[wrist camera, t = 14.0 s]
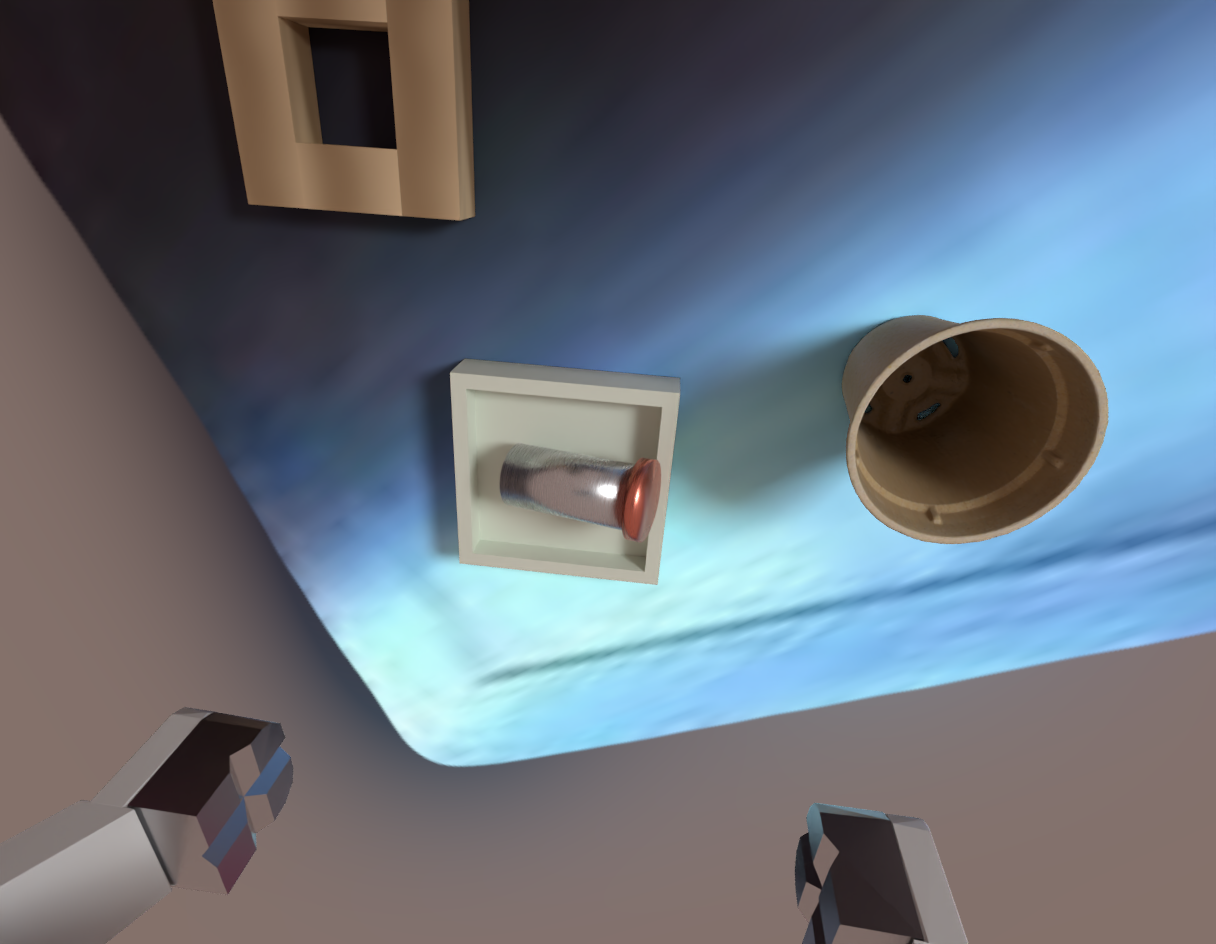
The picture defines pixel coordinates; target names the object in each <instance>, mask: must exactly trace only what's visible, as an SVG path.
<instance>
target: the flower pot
mask: <svg viewBox="0 0 1216 944" xmlns="http://www.w3.org/2000/svg"><path fill="white" fill-rule="evenodd" d="M950 337H951V338H953V340H954V341H955V343H956V344H957V346H958V355H957V356H956V357H953V355H952V354H951V352H950V350H949V349H948V348H947V346H946V345H945V343H944V342H943V341H942V340H944V339H947V338H950ZM906 375H911V376H912V378H911V381H910V382H908V383H906V382H904V381H903V378H904V377H905V376H906ZM842 393H843V397H844V400H845V403H846V407H847V411H848V415H849V419H850V425H849V428H848V433H847V440H846V460H847V467H848V472H849V476H850V480H851V482H852V485H853V487H854V489H855V492H856V494H857V495H858V497H859V498H860V500H861V502H862V503H863V505H864V506H865V507H866V508H867V510H869V511H870V513H871V514H872V515H874V516H875V518H876V519H878V520H879V521H881V522H882V523H883V524H885V525H886V526H887V527H889V528H891V529H893V530H895V531H897V532H900V533H902V534H904V535H906V536H909V537H912V538H914V539H919V540H921V541H925V542H932V543H933V542H934V543H940V544H962V543H970V542H980V541H984V540H988V539H991V538H994V537H998V536H1000V535H1005V534H1008V533H1010V532H1012V531H1014V530H1017V529H1019V528H1021V527H1024V526H1026V525H1028V524H1029V523H1031V522H1033V521H1034V520H1036V519H1038V518H1040V517H1041V516H1043V515H1044V514H1046V513H1047V512H1049V511H1050V510H1051V509H1053V508H1054V507H1056V506H1057V505H1058V504H1059V503H1060V502H1062V501H1063V500H1064V499H1065V498H1066V497H1067V496H1068V495H1069V494H1070V493H1071V492H1072V491H1073V490H1074V489H1075V488H1076V487H1077V486H1078V485H1079V484H1080V482H1081V480H1082V479H1083V477H1084V476H1085V475H1086V474H1087V473H1088V471H1089V469H1090V468H1091V466H1092V465H1093V464H1094V462H1095V460H1096V457H1097V456H1098V453H1099V451H1100V448H1101V446H1102V443H1103V440H1104V436H1105V431H1106V428H1107V425H1108V399H1107V393H1106V388H1105V386H1104V383H1103V381H1102V378H1101V376H1100V373H1099V371H1098V369H1097V368H1096V367H1095V365H1094V363H1093V362H1092V361H1091V359H1090V358H1089V356H1088V355H1087V354H1086V353H1085V352H1084V351H1083V350H1082V349H1081V348H1080V347H1079V346H1078V345H1077V344H1075V343H1074V342H1073V341H1071V340H1070V339H1069V338H1068V337H1066V336H1064V335H1063V334H1061V333H1059V332H1057V331H1055V330H1052V329H1050V328H1048V327H1045V326H1043V325H1040V324H1037V323H1034V322H1029V321H1024V320H1019V319H1008V318H993V319H982V320H974V321H969V322H964V323H961V324H959V323H954V322H950V321H946V320H942V319H939V318H936V317H932V316H925V315H914V316H904V317H900V318H896V319H893V320H890V321H888V322H886V323H884V324H882V325H880V326H878V327H876V328H875V329H873V330H872V331H871V332H869V333H868V334H867V335H866V336H865V337H864V338H862V339H861V341H860V342H859V343H858V344H857V345H856V346H855V348H854V349H853V350H852V352H851V354H850V356H849V358H848V361H847V364H846V367H845V370H844V373H843V378H842ZM936 403H939V404H940V406H939V407H937V408H936V410H935V411H934V412H933V413H931V414H930V415H928V416H927V417H925V418H923V419H921V420H918V419H917V415H918V413H920V412H922V411H924V410H927V409H928V408H930V407H931V406H932V405H934V404H936ZM868 404H869V405H870V406H871V407H872V410H871V411H870V412H869V413H865V410H866V408H867V406H868Z"/></svg>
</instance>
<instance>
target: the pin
mask: <svg viewBox="0 0 1216 944" xmlns="http://www.w3.org/2000/svg"><path fill="white" fill-rule="evenodd" d="M660 488H661V467H660V463H659V461H658V460H654V459H648V458H640V459H639V460H638V461H637V462H636V464H631V463H626V462H620V461H615V460H609V459H604V458H598V457H593V456H588V455H582V454H577V453H571V452H566V451H560V450H555V449H550V448H544V447H539V446H533V445H528V444H522V443H518V444H516V445H514V446H513V447H512V448H511V449H510V450H509V452H508V454H507V455H506V458H505V460H504V462H503V466H502V469H501V474H500V495H501V498H502V500H503V502H504V503H505V504H506V505H509V506H513V507H518V508H522V509H527V510H532V511H536V512H541V513H545V514H550V515H554V516H559V517H563V518H568V519H573V520H577V521H582V522H586V523H591V524H595V525H600V526H604V527H609V528H613V529H618V530H622V533H623V536H624V538H625V539H627V540H631V541H635V542H640V543H641V542H643V541H644V540H645V539H646V538H647V536H648V534H649V532H650V530H651V527H652V524H653V521H654V518H655V515H656V511H657V507H658V502H659V496H660Z"/></svg>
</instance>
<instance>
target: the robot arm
mask: <svg viewBox="0 0 1216 944" xmlns="http://www.w3.org/2000/svg"><path fill="white" fill-rule="evenodd" d="M284 739H285V735H284V732H283V729H282V726H281V724H280V723H276V722H270V721H264V720H259V719H253V718H247V717H241V716H235V715H229V714H223V713H218V712H213V711H207V710H199V709H193V708H187V707H184V708H182V709H180V710H179V711H177V712H175V713H173V714H172V715H171V716H170V717H169V718H168V719H167V720H166V721H165V722H164V723H163V724H162V725H161V726H160V727H159V728H158V730H157V731H156V732H155V733H154V734H153V735H152V736H151V737H150V738H149V739H148V740H147V741H146V743H144V745H143V746H142V747H141V748H140V749H139V750H138V751H137V752H136V753H135V754H134V755H133V756H132V757H131V758H130V759H129V761H128V762H127V763H126V764H125V765H124V766H123V767H122V768H121V769H120V770H119V771H118V772H117V773H116V775H115V776H114V777H113V778H112V779H111V780H110V781H109V782H108V783H107V784H106V785H105V786H104V787H103V788H102V790H101V791H100V792H99V793H98V794H97V795H96V796H95V797H94V798H93V799H92V800H91V801H86V800H80V801H79V802H76V803H75V804H73V805H71V806H69V807H67V808H65V809H63V810H62V811H60V812H58V813H56V814H54V815H52V816H51V817H49V818H47V819H45V820H43V821H42V822H39V823H38V824H36V825H34V826H32V827H30V828H28V829H26V830H25V831H23V832H21V833H19V834H17V835H16V836H14V837H12V838H10V839H8V840H6V841H4V842H2V843H1V844H0V944H106V943H107V942H108V941H109V940H111V939H112V938H113V937H114V936H116V935H117V934H118V933H119V932H121V931H122V930H123V929H124V928H126V927H127V926H128V925H130V924H131V923H132V922H133V921H135V920H136V919H137V918H138V917H140V916H141V915H142V914H143V913H145V912H146V911H147V910H148V909H150V908H151V907H152V906H153V905H155V904H156V903H157V902H159V901H160V900H161V899H162V898H163V897H165V896H166V895H167V894H169V893H170V892H171V891H172V888H171V887H177V888H184V889H191V890H197V891H205V892H212V893H218V894H225V895H228V894H229V892H230V891H231V889H232V887H233V886H234V884H235V883H236V881H237V880H238V878H239V876H240V875H241V873H242V872H243V870H244V868H245V867H246V865H247V864H248V862H249V860H250V859H251V857H252V856H253V854H254V853H255V851H256V833H257V832H259V831H260V830H262V829H263V828H265V827H266V826H267V825H269V824H270V823H272V822H274V821H275V819H276V817H277V816H278V814H279V813H280V811H281V809H282V808H283V806H284V804H285V803H286V800H287V797H288V794H289V791H290V788H291V785H292V783H293V765H292V761H291V757H290V756H289V755H288V754H287V753H286V752H285V751H284V750H283V749H281V747H280V745H281V743H282V742H283V740H284ZM806 819H807V825H808V833H806V834H804V835H803V836H801V837H800V840H799V843H798V847H797V851H796V861H795V888H796V897H797V906H798V909H799V910H800V912H801V913H802V915H803V916H804V918H805V919H806V920H807V922H808V923H809V925H808V928H807V931H806V933H805V936H804V939H803V942H802V944H969V943H968V941H967V938H966V935H965V932H964V929H963V926H962V923H961V920H960V917H959V914H958V911H957V908H956V905H955V902H954V899H953V896H952V893H951V890H950V887H949V885H948V882H947V879H946V876H945V873H944V870H943V867H942V864H941V861H940V858H939V855H938V852H937V849H936V846H935V844H934V840H933V838H932V834H931V831H930V829H929V827H928V826H927V824H926V823H925V822H924V820H922V819H919V818H914V817H906V816H899V815H891V814H884V813H883V812H878V811H871V810H864V809H857V808H849V807H842V806H834V805H827V804H819V803H814V804H813V805H811V806H810V809H809V812H808V814H807V817H806Z"/></svg>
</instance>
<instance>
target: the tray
mask: <svg viewBox="0 0 1216 944" xmlns="http://www.w3.org/2000/svg"><path fill="white" fill-rule="evenodd" d="M450 383H451V403H452V423H453V442H454V462H455V482H456V501H457V521H458V541H459V560H460V563H462V564H471V565H480V566H489V567H499V568H508V569H517V570H526V571H535V572H545V573H554V574H563V575H572V576H581V577H590V578H600V579H609V580H618V581H627V582H636V583H645V584H655V585H657V584H658V576H659V567H660V559H661V551H662V542H663V534H664V525H665V517H666V509H667V500H668V492H669V483H670V475H671V467H672V458H673V450H674V442H675V433H676V425H677V416H678V408H679V400H680V378H676V377H665V376H654V375H643V374H631V373H620V372H609V371H598V370H587V369H576V368H565V367H553V366H542V365H531V364H520V363H509V362H498V361H486V360H475V359H464V360H463V361H462V362H461V363H459V364H458V365H457V366H456V367H455V368H454V369H453V370H452V371H451V372H450ZM518 443H522V444H528V445H533V446H539V447H544V448H550V449H555V450H560V451H566V452H571V453H577V454H582V455H588V456H593V457H598V458H604V459H609V460H615V461H620V462H626V463H631V464H636V462H637V461H638V460H639V459H640V458H648V459H654V460H658V461H659V463H660V467H661V488H660V496H659V502H658V507H657V511H656V515H655V518H654V521H653V524H652V527H651V530H650V532H649V534H648V536H647V538H646V539H645V540H644V541H643V542H641V543H640V542H635V541H631V540H627V539H625V538H624V536H623V533H622V530H618V529H613V528H609V527H604V526H600V525H595V524H591V523H586V522H582V521H577V520H573V519H568V518H563V517H559V516H554V515H550V514H545V513H541V512H536V511H532V510H527V509H522V508H518V507H513V506H509V505H506V504H505V503H504V502H503V500H502V498H501V495H500V474H501V469H502V466H503V462H504V460H505V458H506V455H507V454H508V452H509V450H510V449H511V448H512V447H513V446H514V445H516V444H518Z"/></svg>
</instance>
